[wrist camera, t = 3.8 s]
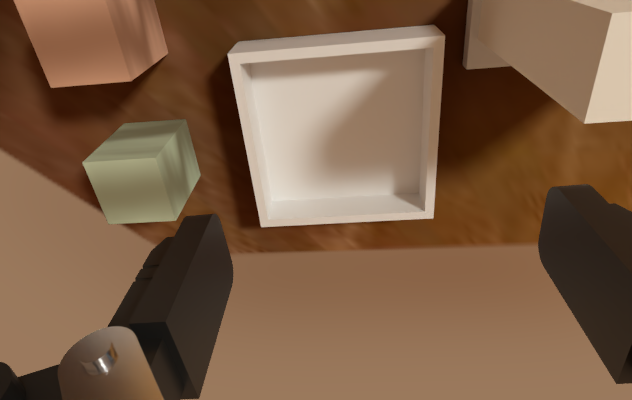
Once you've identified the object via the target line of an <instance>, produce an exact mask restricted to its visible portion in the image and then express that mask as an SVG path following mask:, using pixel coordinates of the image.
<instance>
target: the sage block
mask: <svg viewBox="0 0 632 400" xmlns="http://www.w3.org/2000/svg"><path fill="white" fill-rule="evenodd" d="M82 163H83V165H84V168H85V170H86V172H87V175H88V177H89V179H90V182H91V184H92V187H93V189H94V191H95V194H96V196H97V198H98V201H99V203H100V205H101V208H102V210H103V212H104V215H105V217H106V219H107V221H108V224H123V223H142V222H161V221H176V220H177V218H178V216H179V214H180V212H181V210H182V209H183V207H184V205H185V203H186V201H187V199H188V198H189V196H190V194H191V192H192V190H193V188H194V186H195V185H196V183H197V181H198V179H199V177H200V171H199V167H198V164H197V160H196V156H195V152H194V148H193V145H192V141H191V137H190V133H189V130H188V126H187V122H186V119H181V120H167V121H153V122H140V123H126V124H123V125H122V126H121V127H120V128H119V129H118V130H117V131H116V132H115V133H113V134H112V135H111V136H110V137H109V138H108V139H107V140H106V141H105V142H104V143H103V144H102V145H101V146H100V147H98V148H97V149H96V150H95V151H94V152H93V153H92V154H91V155H90V156H89V157H88V158H87V159H86V160H84V161H83V162H82Z"/></svg>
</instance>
